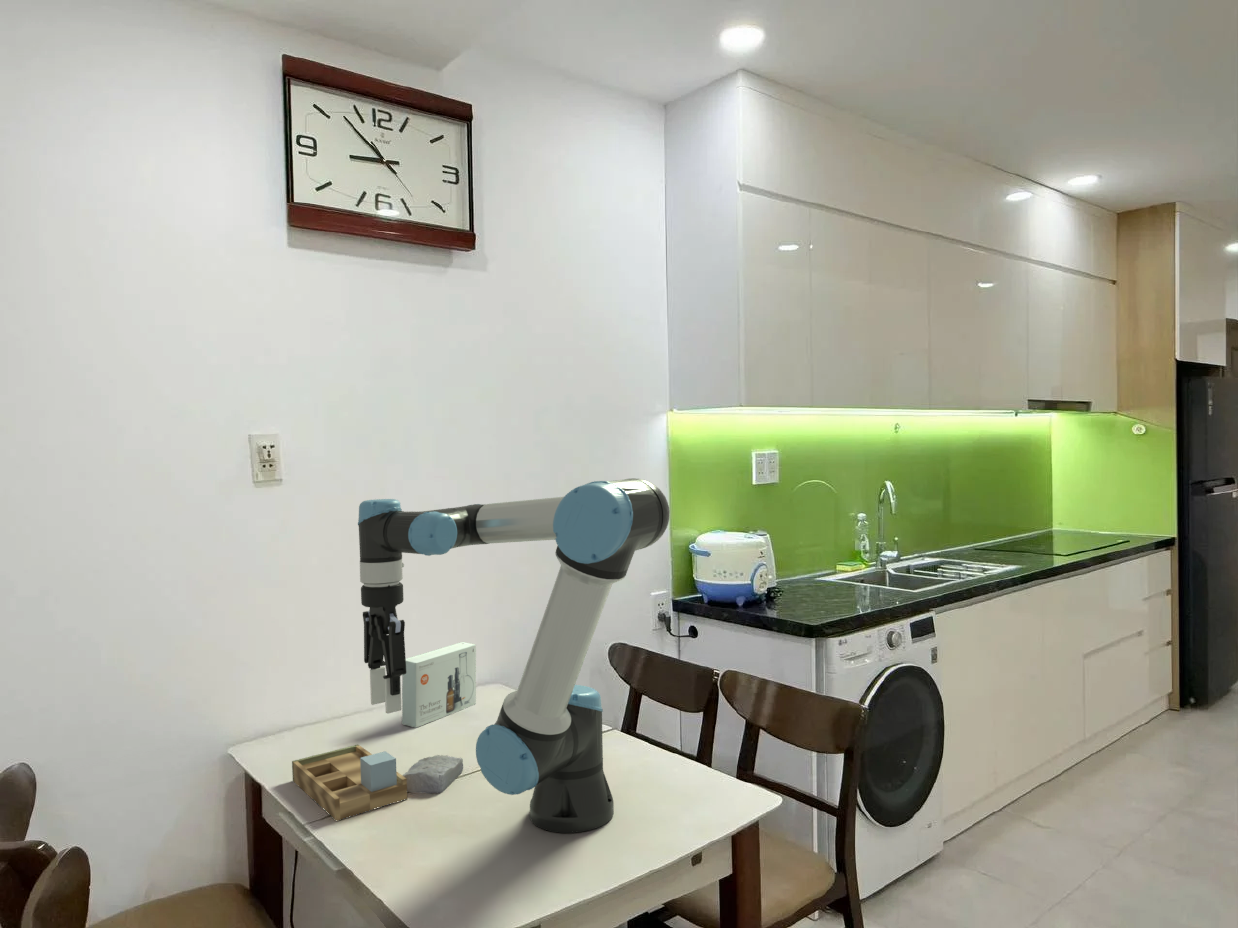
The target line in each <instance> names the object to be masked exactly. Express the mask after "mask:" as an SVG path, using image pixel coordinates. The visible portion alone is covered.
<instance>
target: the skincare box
mask: <svg viewBox="0 0 1238 928" xmlns="http://www.w3.org/2000/svg"><path fill="white" fill-rule="evenodd" d="M401 677H402V680H401V681H402V682H401V683H402V684H401V712H402V715H401V724H402V725H404V726H408V727H412V728H415V729H416V728H419V727H421V726H423V725H426V724H429V723H432V722H434V721H437V720H440V719H441V718H445V717H447V716H449V715H452V714H455V713H457V712H460V711H462V709H463V710H465V709H468V708H470V707H472V706H475V705H476V704H477V644H474V643H471V642H465V641H461V642H457V643H455V644H450V645H447V646H444V647H441V648H438V649H434V650H431V651H428V652H425V653H420V654H417V655H414V656H410V657H407V658H406V674H403V675H401ZM464 708H465V709H464Z"/></svg>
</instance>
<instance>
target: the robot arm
mask: <svg viewBox="0 0 1238 928" xmlns="http://www.w3.org/2000/svg"><path fill="white" fill-rule="evenodd" d="M357 520H358V522H357V526H358V539H359V540H358V543H359V544H358V545H359V582H360V583H361V584H363V585H362V586H361V587H360V601H361V603H360V604H361V605H362V606H363V607H365V608H369V610H366V611H363V612H362V620H363V662H364V664H367V668H369V685H370V686H369V687H370V705H372V706H374V705H378V704H382V703H385V714H391V713H392V714H393V713H397V712H402V684H401V683H402V682H401V681H402V680H401V677H402V675H403V674H406V659H407V658H406V646H405V645H406V643H405V626H406V622H405V620H404V619H400V620H399V619H398V613H397V609H396V607H397V606H398V605H401V604H402V603H403V602H404V584H403V583H402V582H401V581H402V580H403V577H404V576H403V568H404V567H405V564H404V562H403V553H405V554H414V555H415V554H416V555H424V556H428V557H430V556H433V555H435V556H438V555H439V556H440V555H445V554H447V553H448V552H449V551H450V550H451V549H456V548H460V547H468V546H475V545H476V546H477V545H489V544H505V543H521V542H524V543H525V542H537V541H538V542H539V541H540V542H541V541H554V540H555V543H556V544H557V546H556V549H555V557H556V559H557V561H558V563H559V564H560V567H559V570H558V572H557V576H556V579H555V581H554V584H553V588H552V589H551V593H550V596H549V599H548V601H547V604H546V607H545V610H544V614H543V616H542V619H541V621H540V624H539V627H538V629H537V630H538V631H537V633H536V635H535V638H534V642H533V644H532V647H531V650H530V653H529V656H528V658H527V662H526V664H525V666H524V667H525V668H524V670H523V673H522V676H521V679H520V681H519V684H518V686H517V687H518V688H517V690H515V691H512V692H509V693H508V694H507V695H506V696H505V698H504V700H503V702H502V704H501V708H500V711H499V713H498V716H497V719H496V720H495V723H494V724H490V725H488V726H486V727H485V729H484V730H482V731H481V732H480V734H479V735H478V737H477V739H476V744H475V755H476V756H475V758H476V762H477V765H478V766H479V767H480V772H481V774H482V775H483V777H484V779H486V781H487V782H488V784H490V786H492V787H493V788H494V789H496V790H497V791H498V792H499V793H503V794H506V795H511V796H512V795H520V794H522V793H524V792H526V791H530V790H532V789H533V791H532V792H533V793H532V797H531V799H530V802H529V818H530V819H529V820H531V822H532V824H534V825H535V826H537V827H538V828H540V829H542V830H544V831H545V830H546V831H548V832H554V833H563V834H565V833H566V834H569V833H570V834H571V833H573V834H574V833H581V832H587V831H591V830H594V829H598V828H599V827H602V826H604V825H606V824H607V823H608V822H610V821H611V819H612V818H613V817H614V811H615V810H614V809H615V808H614V807H615V806H614V804H615V803H614V796H613V795H612V791H611V788H610V786H609V783H608V780H607V776H606V774H605V772H604V756H603V752H604V751H603V712H604V710H603V708H602V698H601V694H600V693H599V691H597V690H596V689H595V688H594V687H591V686H587V685H580V684H576V683H577V681H578V677H579V675H580V672H581V670H582V667H583V664H584V661H585V659H586V656H587V654H588V651H589V648H590V646H591V643H592V641H593V638H594V634H595V632H596V629H597V626H598V624H599V621H600V618H601V616H602V613H603V610H604V608H605V605H606V602H607V599H608V596H609V593H610V591H611V588H612V585H613V584H614V583H617V582H620V581H622V580H624V579H625V577H626V576H627V573H628V571H629V568H630V565H631V562H632V559H633V556H634V554H635V552H637V551H640V550H642V549H646V548H648V547H650V546H652V545H653V544H655V543H656V542H658V541H659V540H660V539H661V538H662V537H663V535H664V534H665V532H666V530H667V528H668V525H669V521H670V505H669V502H668V500H667V497H666V496H665V494H664V493H663V492H662V490H661V489H660V488H659V487H658V486H657V485H655V484H653V483H652V482H650V481H648V480H645V479H641V478H626V479H618V480H609V481H607V480H597V481H595V480H594V481H591V482H590V481H589V482H588V483H585V484H582V485H580V486H576V487H575V488H573V489H572V490H570V491H568V493H566V494H565V495H564V496H559V497H558V496H556V497H546V498H535V499H526V500H525V499H523V500H516V501H515V500H514V501H504V502H494V503H492V502H491V503H487V504H486V503H485V504H482V503H481V504H480V503H477V504H475V503H474V504H468V505H464V506H458V507H457V506H456V507H448V508H440V509H430V510H422V511H404V510H402V506H401V502H400V500H398V499H395V498H378V499H376V498H375V499H367V500H363V501H361V502H360V504H359V506H358V519H357ZM384 666H385V667H384Z"/></svg>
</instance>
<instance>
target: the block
mask: <svg viewBox="0 0 1238 928" xmlns="http://www.w3.org/2000/svg"><path fill="white" fill-rule="evenodd" d="M360 766H361V784H362V785H363V786H365V787H366V788H367V789H368V790H370V791H371V792H373V791H376V790H380V789H383V788H387V787H390V786H393V785H397V773H396V772H397V758H396V757H395V756H393V755H392V754H390V753H389V752H387V751H385V750H384V751H381V752H377V753H373V754H372V755H369V756H365V757H361V758H360Z"/></svg>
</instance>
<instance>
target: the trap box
mask: <svg viewBox="0 0 1238 928" xmlns="http://www.w3.org/2000/svg"><path fill="white" fill-rule="evenodd" d="M369 755H373V754H372V753H371V751H368V750H367V749H366V748H364V747H362V746H361V745H360V744H355V745H351V746H347V747H343V748H339V749H334V750H330V751H327V752H323V753H320V754H319V753H318V754H315V755H311V756H308V757H307V756H306V757H303V758H299V759H295V760H292V761H291V768H292V771H291V772H292V781H293V782H294V784H296V785H297V787H299V788H300V789H301V790H302V791H303V792H305V793H306V795H307V796H309V798H310V799H312V800H313V799H314V800H315V801H316V802H317V803H318V804H319V805H320V806H321V807H322V808H324V809H325V810H326V811H327V812H328V813H329V814H330V815H331V816H332V817H333V818H334V819H335V820H339V821H341V820H340V819H342V820H344V819H343V818H345V819H347V818H346V817H348V818H350V817H349V816H352V817H354V816H353V815H355V816H357V815H356V814H358V815H360V814H359V813H361V814H364V813H363V812H365V811H368V812H370V811H369V810H371V811H373V810H372V809H374V808H377V807H381V806H384V805H387V804H390V803H393V802H397V801H401V800H404V799H407V800H408V792H407V779H406V778H405V777H404V776H402V775H403V774H401V773H399V772H398V771H396V773H397V785H393V786H390V787H387V788H383V789H380V790H376V791H373V792H371V791H370V790H368V789H367V788H366V787H365V786H363V785H362V784H361V766H360V758H361V757H365V756H369ZM314 800H313V801H314ZM315 801H314V802H315ZM404 801H405V800H404ZM316 802H315V803H316ZM401 802H402V801H401ZM317 803H316V804H317ZM397 803H398V802H397ZM318 804H317V805H318ZM319 805H318V806H319ZM320 806H319V807H320ZM321 807H320V808H321ZM384 807H385V806H384ZM322 808H321V809H322ZM381 808H382V807H381ZM374 810H375V809H374ZM326 811H325V812H326ZM327 812H326V813H327ZM328 813H327V814H328ZM365 813H366V812H365ZM329 814H328V815H329ZM330 815H329V816H330ZM331 816H330V817H331ZM332 817H331V818H332ZM333 818H332V819H333ZM334 819H333V820H334ZM335 820H334V821H335Z"/></svg>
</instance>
